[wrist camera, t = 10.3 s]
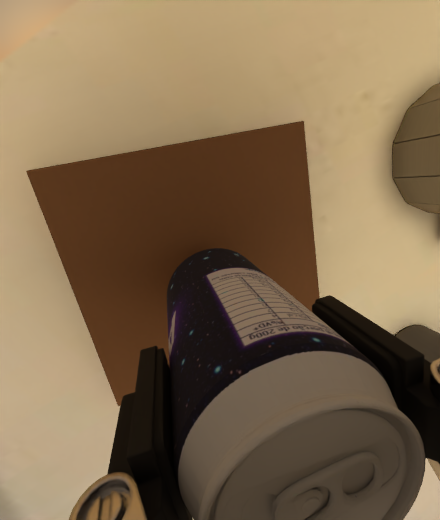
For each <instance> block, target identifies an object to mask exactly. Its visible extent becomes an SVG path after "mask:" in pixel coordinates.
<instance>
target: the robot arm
mask: <svg viewBox="0 0 440 520" xmlns="http://www.w3.org/2000/svg"><path fill="white" fill-rule="evenodd" d="M312 313H313V314H315V315H316V316H317V317H318V318H319V319H321V320H322V321H323V322H324V323H326V324H327V325H328V326H329V327H330V328H332V329H333V330H334V331H335V332H336V333H338V334H339V335H340V336H341V337H342V338H344V339H345V340H346V341H347V342H349V343H350V344H351V345H352V346H353V347H355V348H356V349H357V350H358V351H359V352H361V353H362V354H363V355H364V356H366V357H367V358H368V359H369V360H370V361H371V362H372V363H374V364H375V365H376V367H377V368H378V369H379V370H380V372H381V373H382V374H383V376H384V378H385V380H386V382H387V384H388V386H389V388H390V391H391V393H392V396H393V398H394V400H395V403H396V405H397V408H398V410H400V411H401V412H402V413H403V414H405V415H406V416H407V417H408V418H409V419H410V420H411V422H412V423H413V424H414V426H415V427H416V429H417V430H418V432H419V434H420V436H421V439H422V442H423V445H424V451H425V458H427V459H428V461H429V463H430V465H431V467H432V468H433V470H434V472H435V474H436V475H437V477H438V479H439V480H440V358H439V359H437V360H435V361H433V362H432V363H430V362H429V361H427V360H426V359H424V354H422V353H421V352H419V351H417V350H416V349H414V348H413V347H411V346H410V345H408V344H406V343H405V342H403V341H402V340H400V339H399V338H397V337H395V336H394V335H392V334H391V333H389V332H388V331H386V330H384V329H383V328H381V327H380V326H378V325H377V324H375V323H373V322H372V321H370V320H369V319H367V318H366V317H364V316H362V315H361V314H359V313H358V312H356V311H355V310H353V309H351V308H350V307H348V306H347V305H345V304H344V303H342V302H340V301H339V300H337V299H336V298H334V297H332V296H326V297H323V298H319V299H316V300H315V304H313V305H312ZM69 520H192V515H191V514H190V512H189V510H188V509H187V507H186V505H185V504H184V502H183V500H182V498H181V495H180V493H179V490H178V486H177V482H176V478H175V474H174V462H173V438H172V414H171V390H170V368H169V364H168V361H167V358H166V354H165V351H164V349H163V348H161V349H158V347H157V346H153V347H149V348H146V349H142V350H141V351H140V358H139V365H138V373H137V380H136V388H135V392H133V393H130V394H127V395H124V396H123V398H122V401H121V406H120V411H119V417H118V422H117V427H116V432H115V438H114V443H113V448H112V453H111V459H110V464H109V469H108V474H107V475H106V476H104V477H102V478H100V479H98V480H97V481H96V482H95V483H93V484H92V485H91V486H90V487H89V488H88V489H87V490H86V491H85V492H84V493H83V494H82V496H81V497H80V498H79V500H78V501H77V503H76V505H75V506H74V508H73V510H72V512H71V515H70V518H69Z"/></svg>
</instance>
